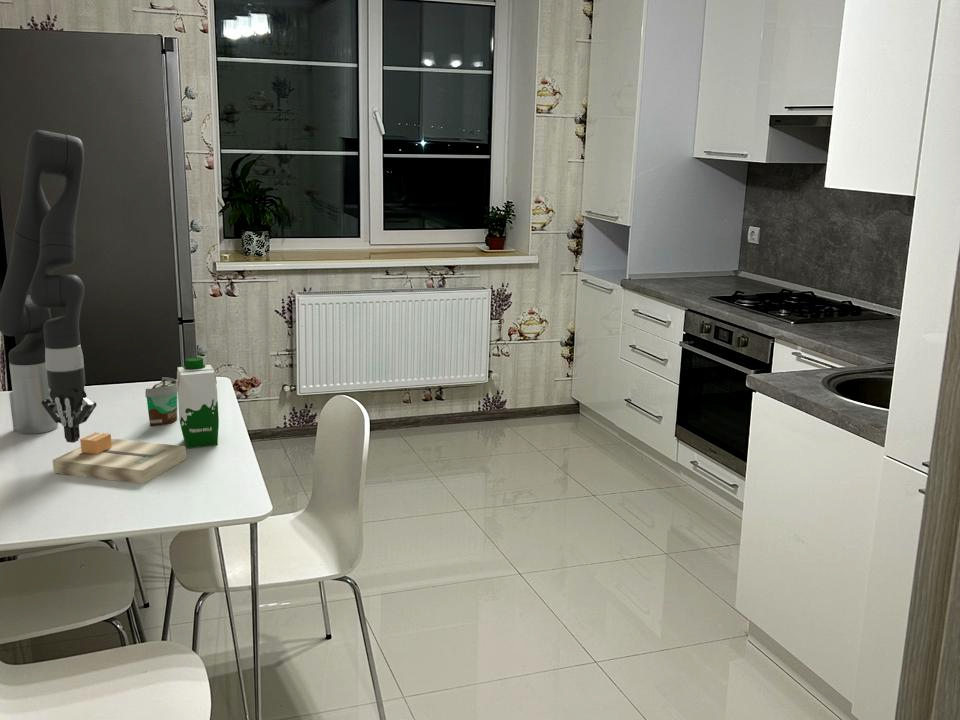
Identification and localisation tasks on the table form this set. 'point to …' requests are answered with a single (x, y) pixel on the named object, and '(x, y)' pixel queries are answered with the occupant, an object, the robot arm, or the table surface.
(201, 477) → the table surface
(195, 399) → the milk carton
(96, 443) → the fader knob
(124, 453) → the fader console
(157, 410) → the food container
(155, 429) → the table surface
